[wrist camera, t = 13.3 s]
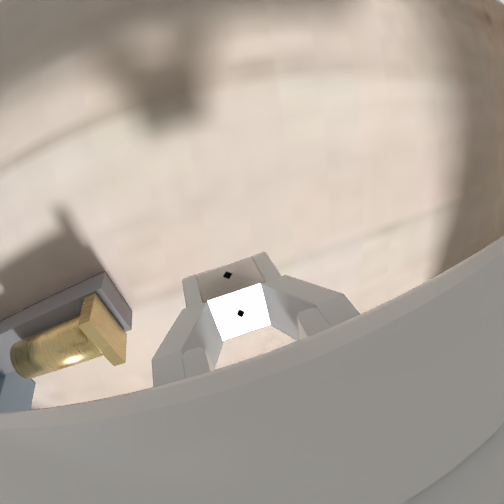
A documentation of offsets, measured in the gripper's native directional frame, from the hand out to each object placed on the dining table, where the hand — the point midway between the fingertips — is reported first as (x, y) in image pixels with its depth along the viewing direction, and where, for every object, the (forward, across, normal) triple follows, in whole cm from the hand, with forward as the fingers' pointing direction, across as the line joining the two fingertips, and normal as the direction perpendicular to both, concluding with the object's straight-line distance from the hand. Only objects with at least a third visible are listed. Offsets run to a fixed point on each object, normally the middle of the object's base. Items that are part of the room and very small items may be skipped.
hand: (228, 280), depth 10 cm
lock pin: (+3, +9, +3) cm, 10 cm away
